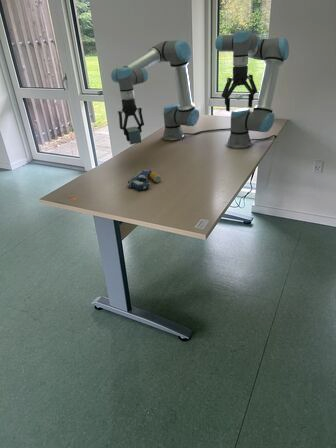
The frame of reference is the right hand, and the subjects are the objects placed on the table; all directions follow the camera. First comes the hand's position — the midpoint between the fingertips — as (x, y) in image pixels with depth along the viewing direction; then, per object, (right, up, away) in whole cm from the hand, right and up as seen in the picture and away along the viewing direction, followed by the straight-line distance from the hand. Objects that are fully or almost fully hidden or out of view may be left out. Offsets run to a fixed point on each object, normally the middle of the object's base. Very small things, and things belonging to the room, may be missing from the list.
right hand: (239, 109), depth 180 cm
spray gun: (-50, -40, +3) cm, 64 cm away
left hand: (-58, -12, +17) cm, 62 cm away
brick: (-58, -13, +18) cm, 62 cm away
